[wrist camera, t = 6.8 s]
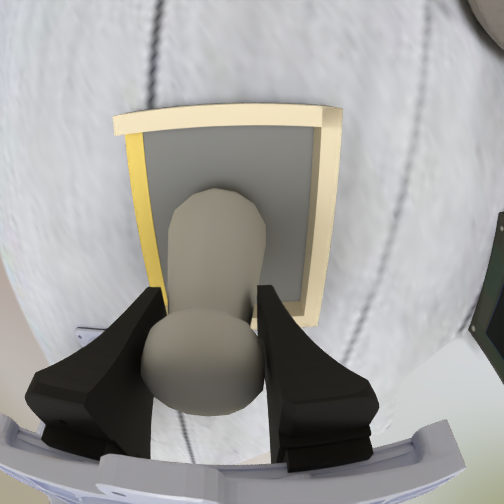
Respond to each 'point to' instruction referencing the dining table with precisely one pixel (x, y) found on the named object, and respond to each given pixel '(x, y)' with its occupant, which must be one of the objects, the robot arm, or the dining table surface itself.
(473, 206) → the dining table surface
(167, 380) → the salt shaker
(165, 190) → the tray
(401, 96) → the dining table surface
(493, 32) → the coffee pot
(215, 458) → the dining table surface
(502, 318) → the boombox
